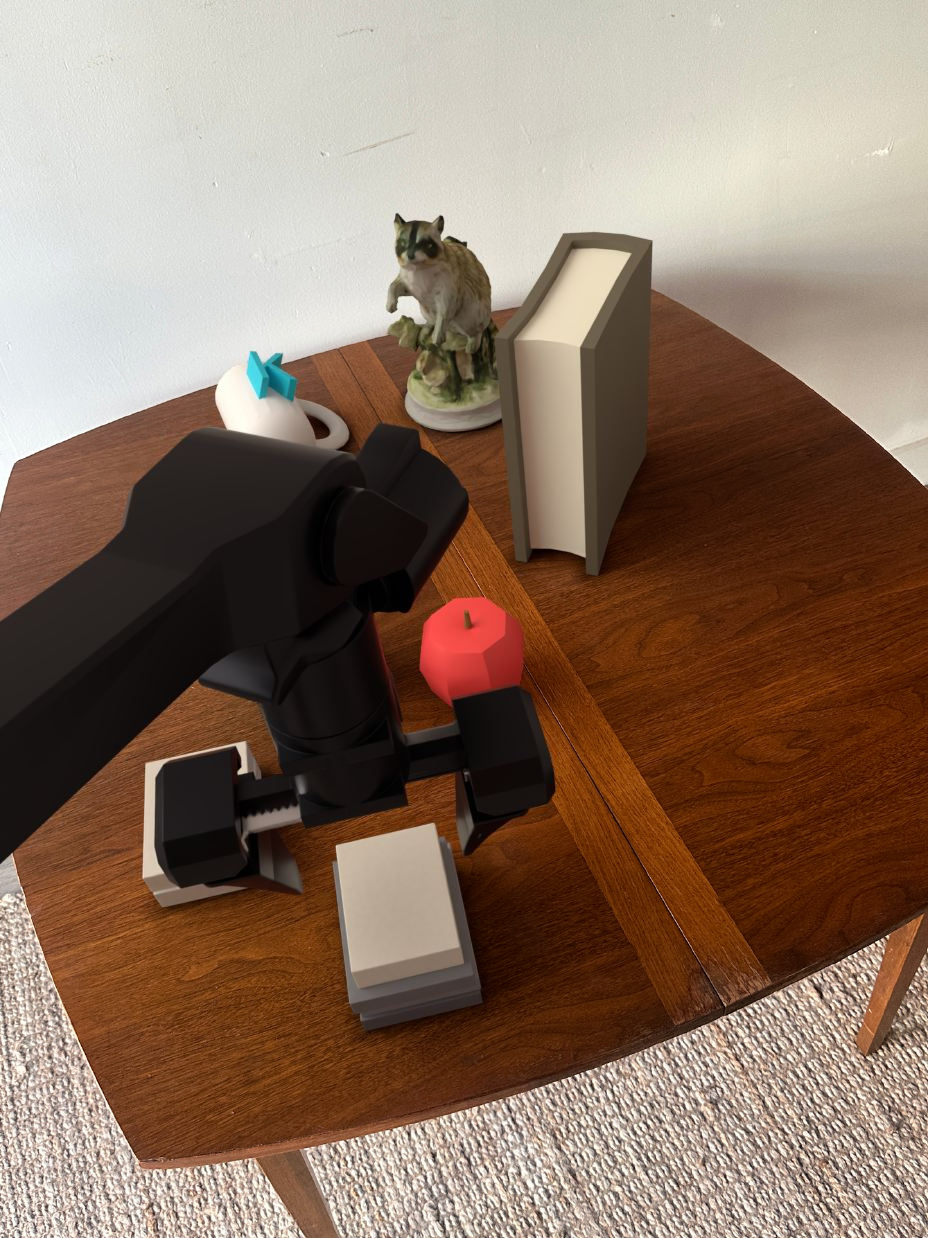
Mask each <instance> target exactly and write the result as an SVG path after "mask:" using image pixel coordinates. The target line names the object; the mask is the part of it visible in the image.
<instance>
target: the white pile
mask: <svg viewBox="0 0 928 1238" xmlns="http://www.w3.org/2000/svg"><path fill="white" fill-rule="evenodd" d="M231 746H236V747H237V749H238V752H239V754H240V756H241V761H242V767H241V768H240V770H239V771H238V775H239V774H244V773H248V772H254V774H255V777H256V780H257V779H262V771H261V769H260V767H259V764H258V762H257V760H256V758H255V757H254V756H253V753H252V751H251V748H250V746H249V744H248V741H246V740H243V741H239V742H234V743H230V744H226V745H225V744H224V745H222V746H216V747H213V748H207V749H202V750H199V751H194V752H190V753H185V754H181V755H176V756H172V757H167V758H163V759H158V760H154V761H150V762H146V763H145V771H144V772H145V773H144V806H143V807H144V810H143V811H144V813H143V846H142V851H143V852H142V880H143V881H144V883H145V884H146V886H147V887H148V889H149V890H150V891H151V892H153V896H154V898H155V899H156V900H157V902H158V904H159V905H160V906H161V907H162V908H167V907H171V906H176V905H180V904H184V903H189V902H193V901H198V900H203V899H206V898H210V897H215V896H220V895H223V894H229V893H233V892H236V891H242V890H245V889H247V888H244V887H233V886H219V887H215V888H209V887H206V886H205V885H203V884H200V885H195V886H191V887H187V888H182V889H181V888H179V887H178V886H176V885H175V884H173V883H171V882H170V881H169V880H168V878H167V877H166V875H165V874H164V872H163V871H162V869H161V867H160V866H159V864H158V861H157V856H156V852H155V848H154V828H155V777H156V776H157V774H158V772H159V771H160V769H161V767H162V766H163V764H165V763H166V762H167V761H169V760H173V759H178V758H182V757H187V756H191V755H196V754H200V753H204V752H209V751H213V750H218V749H222V748H227V747H231Z"/></svg>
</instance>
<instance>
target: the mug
mask: <svg viewBox="0 0 928 1238" xmlns="http://www.w3.org/2000/svg"><path fill="white" fill-rule="evenodd" d="M283 357H284V353H283V352H275V353H274V354H273V355H272V356H270V358H268V359H267V360H266V361H262V360H261V358H260V356H259V354H258V352H257V350H249V354H248V360H247V361H244V362H242V363H238V364H237V365H233V367H232V368H230V369H229V370H227V371H226V372H225V373H224V374H223V376H221V378H220V380H219V381H218V382H217V386H216V389H215V391H214V394H215V396H214V397H215V405H216V407H217V409H218V411H219V412H218V413H219V415H220V417H221V419H222V422H223V424H224V426H225V429H228V430H233V431H238V432H244V433H249V434H254V435H259V436H264V437H270V438H275V439H280V440H285V441H290V442H296V443H301V444H306V445H311V446H316V447H322V448H327V449H332V450H337V451H338V449H340V448H342V447H344V446H345V445H346V443H347V442H348V441H349V439H350V431H349V428H348V425H347V423H346V422H345V421H344V419H342V417H340V416H339V415H338V414H337V413H335V412H334V411H333V410H331V409H330V408H327V407H325V406H323V405H322V404H318V403H316V402H314V401H310V400H306V399H303V398H297V396H296V390H297V385H298V378H296V377H294V376H292V375H291V374H289V373H288V372H286V371H284V370H283V369H282V368H281V367H282V361H283ZM307 416H310V417H312V418H315V419H317V420H319V421H321V422H322V423H323V424H324V425H326V426H327V428H328V429H329V435H328V436H327V437H324V438H320V439H317V438H316V435H315V432H314V431H315V430H314V429H313V426H312V425H311V423H310V421H309V419H308V417H307Z"/></svg>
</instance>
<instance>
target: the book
mask: <svg viewBox="0 0 928 1238" xmlns="http://www.w3.org/2000/svg"><path fill="white" fill-rule="evenodd" d="M653 242H654V240H653V239H648V238H645V237H639V236H635V235H631V234H626V233H614V232H602V231H583V232H563V233H562V234H561V236H560V238H559V241H558V242H557V244H556V246H555V248H554V250H553V252H552V254H551V255H550V257H549V259H548V261H547V263H546V265H545V267H544V269H543V270H542V272H541V274H540V275H539V277H538V279H536V281H535V283H534V285H533V286H532V288H531V290H530V291H529V293H528V294H527V296H526V297H525V299H524V301H523V303H522V304H521V305H520V307H519V308H518V309H517V311H516V312H515V313H514V314H513V315H512V316H511V317H510V318H509V320H507V322H506V323H505V324H504V325H503V326H502V328H500V330H499V332H498V333H497V334H496V336H495V337H494V342H495V353H496V363H497V373H498V383H499V394H500V404H501V414H502V419H501V423H502V424H501V425H502V434H503V444H504V445H503V446H504V455H505V466H506V476H507V484H508V497H509V506H510V516H511V527H512V537H513V547H514V559H515V561H516V562H517V561H518V562H523V563H528V561H529V559H530V557H531V555H532V553H533V550H534V549H546V550H548V549H551V550H557V551H561V552H567V553H570V554H571V553H572V554H573V555H577V556H580V557H582V558H584V559H585V574H586V575H590V576H596V577H598V576H599V574H600V570H601V566H602V563H603V560H604V556H605V553H606V549H607V546H608V543H609V540H610V536H611V533H612V531H613V528H614V526H615V523H616V520H617V518H618V517H619V513H620V511H621V509H622V506H623V505H624V501H625V499H626V496H627V494H628V491H629V490H630V488H631V486H632V484H633V481H634V479H635V477H636V475H637V474H638V471H639V469H640V467H641V465H642V463H643V462H644V459H645V457H646V456H647V445H648V441H647V440H648V413H649V411H648V407H649V378H650V377H649V375H650V342H651V341H650V340H651V313H652V312H651V308H652V307H651V304H652V280H653V279H652V273H653Z"/></svg>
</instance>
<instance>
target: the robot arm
mask: <svg viewBox="0 0 928 1238" xmlns="http://www.w3.org/2000/svg"><path fill="white" fill-rule="evenodd" d="M419 430H420V429H417V428H413V427H407V426H401V425H396V424H390V423H386V422H377V424H376V425H375V426H374V428H373V429H372V431H371V432H370V433H369V434H368V436H367V438H366V439H365V441H364V443H363V445H362V447H361V449H360V451H358V454H357V455H356V456H355V454H354V453H353V452H347V451H341V450H338V449H337V450H332V449H327V448H322V447H316V446H311V445H306V444H301V443H296V442H290V441H285V440H280V439H275V438H270V437H264V436H259V435H254V434H249V433H244V432H238V431H233V430H228V429H227V428H222V427H218V426H203V427H201V428H197V429H195V430H192V431H191V432H189V434H187V435H186V436H184V437H183V438H181V440H180V441H179V442H178V443H176V445H174V446H173V447H172V448H171V450H169V451H168V452H166V454H165V455H164V456H163V457H161V459H160V460H158V461H157V462H156V463H155V464H154V465H153V467H151V468H150V469H149V470H148V471H147V472H146V473H145V474H144V475H143V476H142V477H140V478H139V479H138V480H137V482H135V484H134V485H133V486H132V487H131V488H130V489H129V492H128V496H127V499H126V504H125V508H124V513H123V517H122V521H121V526H120V530H119V532H118V533H116V535H115V536H114V537H113V538H112V539H110V541H109V542H108V543H107V544H106V545H105V546H103V548H102V549H101V550H100V551H98V552H96V553H95V554H94V555H93V556H91V557H90V558H88V559H86V561H84V562H82V564H80V565H78V566H77V567H76V568H74V569H73V570H71V571H70V572H68V573H67V574H66V575H64V576H63V577H61V578H60V579H58V580H57V581H55V582H54V583H52V584H51V585H50V586H49V587H46V588H45V589H44V590H43V591H41V592H40V593H39V594H37V595H36V596H34V597H32V598H31V599H30V600H28V601H27V602H25V603H24V604H22V605H21V606H19V607H18V608H17V609H16V610H14V611H13V612H11V613H10V614H8V615H7V616H6V617H4V618H2V619H1V620H0V865H1V864H3V862H5V861H6V860H7V859H8V858H9V857H10V856H11V855H12V854H13V853H14V852H15V851H16V850H18V848H20V847H21V846H22V845H23V844H24V843H25V842H26V841H28V840H29V838H30V837H31V836H33V834H35V832H37V830H39V829H40V828H41V827H42V826H43V825H44V824H46V822H47V821H49V819H50V818H51V817H53V816H54V815H55V814H56V813H57V812H58V811H59V810H60V809H61V808H62V807H63V806H64V805H66V804H67V802H68V801H70V800H71V799H72V798H73V797H74V796H75V795H76V794H77V793H78V792H79V791H80V790H81V789H82V788H84V787H85V785H87V784H88V783H89V782H90V781H91V780H92V779H93V778H94V777H96V775H97V774H98V773H99V772H101V770H103V769H104V768H105V767H106V766H107V765H108V764H109V763H110V762H111V761H112V760H113V759H114V758H116V756H118V755H119V754H120V753H121V752H122V751H123V750H124V749H125V748H126V747H128V745H130V743H132V742H133V741H134V740H135V739H136V738H137V737H138V736H139V735H140V734H141V733H142V732H144V731H145V729H146V728H147V727H148V726H150V725H151V724H152V723H153V722H154V721H155V720H156V719H157V718H158V717H160V715H162V713H163V712H165V710H166V709H168V707H170V706H171V705H172V704H173V703H174V702H176V700H177V699H178V698H180V697H181V696H182V695H183V694H184V692H186V691H187V690H188V689H189V688H190V687H191V686H192V685H193V684H194V683H195V682H196V681H198V684H199V685H200V686H202V687H204V688H207V689H211V690H214V691H217V692H221V693H224V694H227V695H230V696H234V697H238V698H240V699H244V700H248V701H251V702H253V703H256V704H257V706H258V708H259V711H260V713H261V715H262V718H263V721H264V723H265V726H266V728H267V730H268V733H269V735H270V738H271V740H272V743H273V745H274V747H275V750H276V752H277V759H278V760H277V761H278V766H279V768H280V769H279V770H280V772H281V773H279V774H276V775H275V774H274V775H271V776H266V777H261V779H257V780H256V777H255V774H254V772H248V773H244V774H239V775H238V771H239V770H240V768H241V767H242V761H241V756H240V754H239V752H238V749H237V747H236V746H231V747H227V748H222V749H218V750H213V751H209V752H204V753H200V754H196V755H191V756H187V757H182V758H178V759H173V760H169V761H167V762H166V763H165V764H163V766H162V767H161V769H160V771H159V772H158V774H157V776H156V777H155V828H154V848H155V852H156V856H157V861H158V864H159V866H160V867H161V869H162V871H163V872H164V874H165V875H166V877H167V878H168V880H169V881H170V882H171V883H173V884H175V885H176V886H178V887H179V888H181V889H182V888H187V887H191V886H195V885H200V884H203V885H205V886H206V887H209V888H215V887H219V886H233V887H244V888H246V889H253V890H255V889H256V890H263V891H270V892H274V893H278V894H279V893H280V894H285V895H291V896H301V895H303V894H304V887H303V879H302V875H301V872H300V869H299V867H298V866H299V865H298V864H297V861H296V859H295V857H294V855H293V853H292V852H291V850H290V848H289V847H288V845H287V844H286V842H285V840H284V838H283V836H282V835H281V833H280V832H279V830H278V828H282V827H287V826H291V825H296V824H300V823H302V825H303V827H304V829H305V830H308V829H312V828H317V827H322V826H326V825H330V824H331V825H332V824H335V823H340V822H343V821H347V820H351V819H356V818H361V817H365V816H368V815H374V814H379V813H382V812H387V811H392V810H396V809H400V808H404V807H409V800H408V794H407V788H406V785H407V784H411V783H416V782H421V781H425V780H429V779H434V778H437V777H441V776H442V777H443V776H447V775H450V774H454V781H455V783H454V785H455V789H454V790H455V824H456V829H457V834H458V839H459V844H460V848H461V853H462V856H463V857H468V856H471V855H472V854H473V853H474V852H475V851H476V850H477V849H478V848H479V847H480V846H481V845H482V844H483V843H484V842H485V841H486V840H487V839H488V838H489V837H490V836H492V835H493V834H494V833H496V832H497V831H498V830H499V829H501V828H502V827H503V826H505V825H506V824H507V823H509V822H510V821H511V820H514V819H517V818H521V817H523V816H525V815H526V814H527V813H528V812H529V811H530V809H532V808H533V809H534V808H537V807H542V806H545V805H548V804H549V803H550V802H551V800H552V798H553V797H554V795H555V794H556V793H557V791H556V790H557V789H556V779H555V778H556V777H555V776H556V775H555V770H554V765H553V761H552V755H551V752H550V749H549V746H548V743H547V740H546V737H545V733H544V730H543V728H542V727H543V726H542V724H541V721H540V718H539V715H538V712H537V711H538V710H537V708H536V705H535V703H534V699H533V695H532V693H531V692H530V691H528V690H527V689H525V688H523V687H522V686H520V685H517V684H516V683H514V684H509V685H505V686H500V687H496V688H491V689H487V690H482V691H478V692H473V693H469V694H464V695H460V696H455V697H451V703H452V707H451V709H452V713H453V716H454V721H453V722H452V723H449V724H444V725H439V726H435V727H430V728H425V729H422V730H416V731H413V732H408V733H404V730H403V727H402V723H403V722H404V719H403V715H402V709H401V704H400V699H399V695H398V690H397V687H396V683H395V680H394V675H393V674H392V673H393V672H391V670H390V668H389V667H388V665H387V662H386V658H385V654H384V653H385V652H384V650H383V649H384V648H383V645H382V642H381V637H380V633H379V630H378V626H377V622H376V618H375V614H376V613H387V614H392V613H400V614H407V613H409V611H410V610H411V609H412V608H413V606H414V604H415V603H416V601H417V599H418V598H419V597H420V594H421V593H422V591H423V589H424V588H425V587H426V585H427V583H428V581H429V580H430V579H431V577H432V575H433V573H434V572H435V571H436V569H437V567H438V565H439V564H440V562H441V560H442V559H443V557H444V556H445V554H446V552H447V550H448V549H449V547H450V545H451V544H452V542H453V541H454V539H455V538H456V537H457V535H458V533H459V531H460V530H461V527H462V526H463V524H464V523H465V521H466V519H467V516H468V514H469V512H470V498H469V497H470V496H469V493H468V490H467V488H466V487H464V486H463V485H462V483H461V481H460V480H459V478H458V477H457V476H456V474H455V473H454V472H453V470H452V468H450V467H449V466H448V465H447V464H446V463H444V462H443V460H442V459H440V458H439V457H438V456H436V455H434V454H433V453H431V452H430V451H428V450H427V449H425V448H423V447H422V443H421V435H420V431H419Z"/></svg>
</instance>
